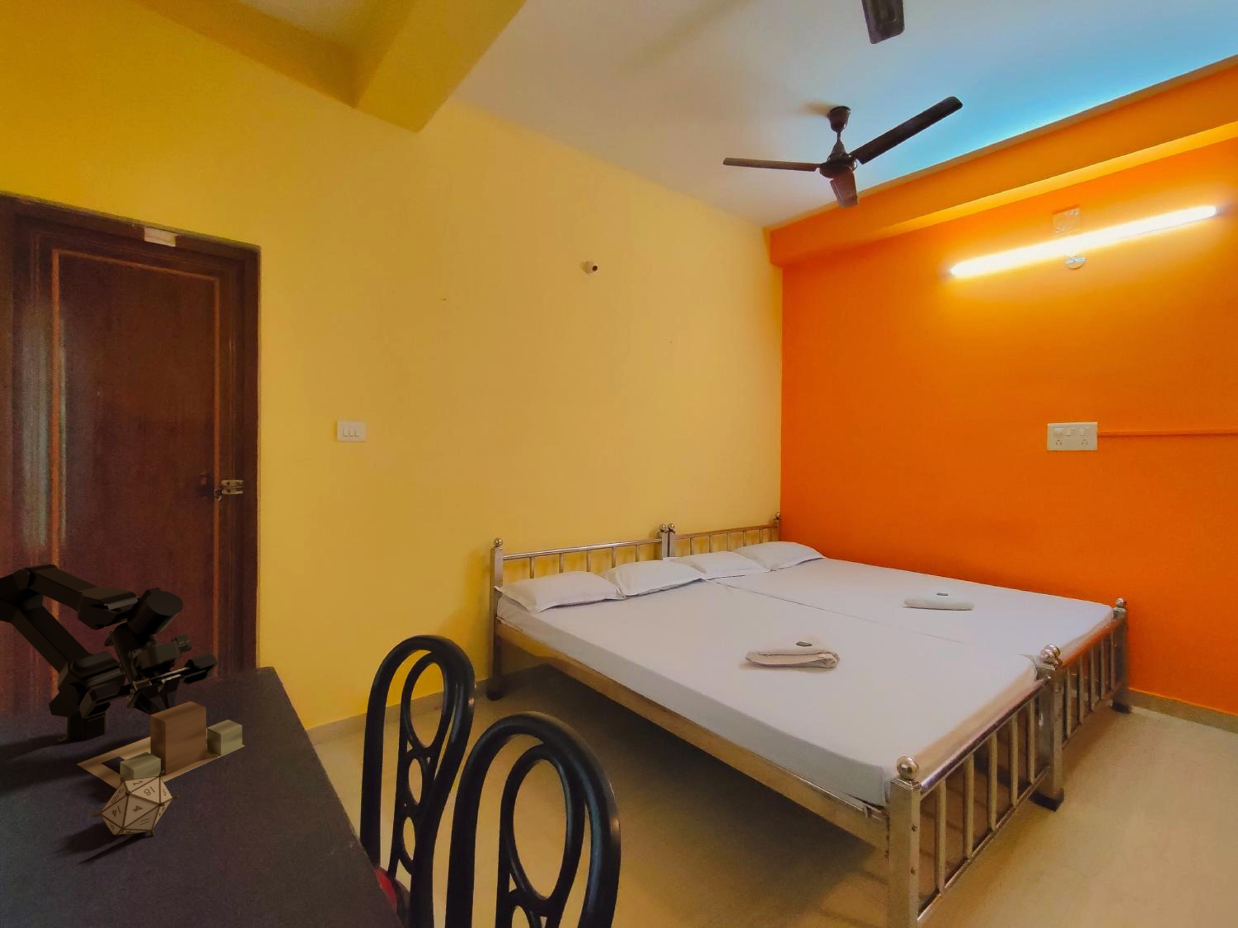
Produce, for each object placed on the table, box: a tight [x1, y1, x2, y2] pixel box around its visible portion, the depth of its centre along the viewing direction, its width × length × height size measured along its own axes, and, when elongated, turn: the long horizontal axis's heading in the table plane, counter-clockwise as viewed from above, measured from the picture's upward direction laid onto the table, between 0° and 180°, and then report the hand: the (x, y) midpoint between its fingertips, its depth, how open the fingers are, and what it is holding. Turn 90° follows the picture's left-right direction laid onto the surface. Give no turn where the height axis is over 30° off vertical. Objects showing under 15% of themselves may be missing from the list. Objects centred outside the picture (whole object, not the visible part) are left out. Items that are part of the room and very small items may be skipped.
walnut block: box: [149, 701, 207, 775], centre depth 96 cm, size 5×6×9 cm
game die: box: [90, 770, 181, 844], centre depth 80 cm, size 9×8×10 cm
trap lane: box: [76, 719, 246, 790], centre depth 98 cm, size 18×17×5 cm
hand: (171, 723), depth 97 cm, fingers closed
